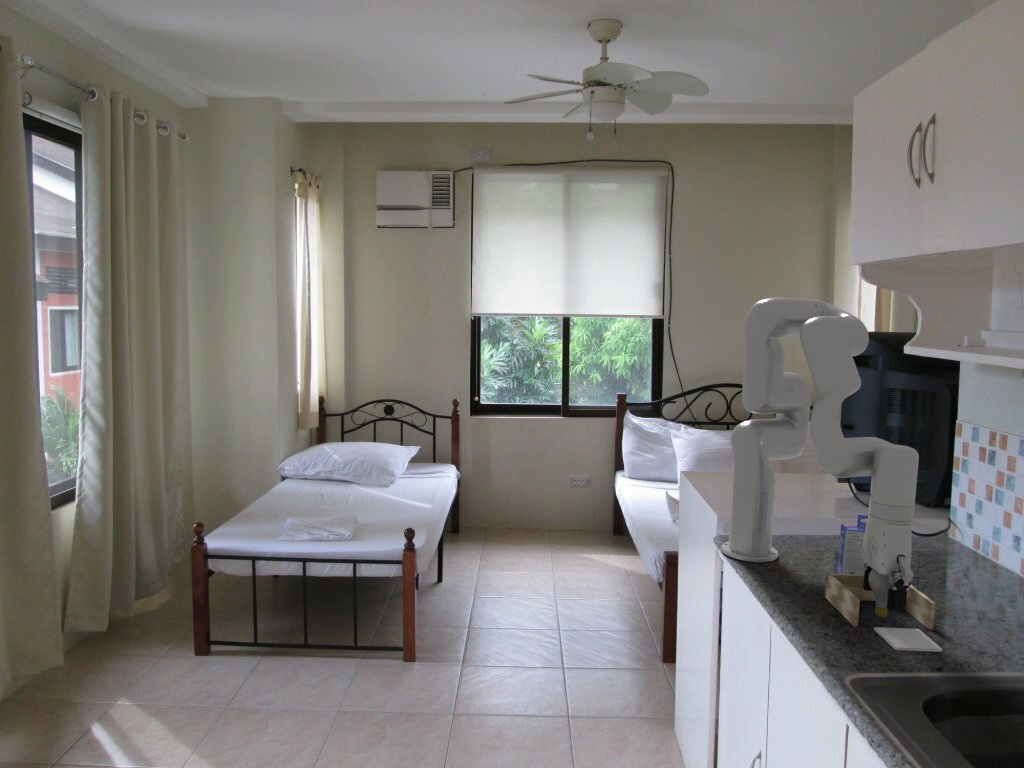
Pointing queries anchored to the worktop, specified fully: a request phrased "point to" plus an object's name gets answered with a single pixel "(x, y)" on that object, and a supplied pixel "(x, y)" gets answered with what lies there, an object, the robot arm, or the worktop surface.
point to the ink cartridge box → (852, 548)
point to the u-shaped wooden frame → (872, 598)
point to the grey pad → (907, 639)
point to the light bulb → (880, 591)
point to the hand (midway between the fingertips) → (883, 599)
